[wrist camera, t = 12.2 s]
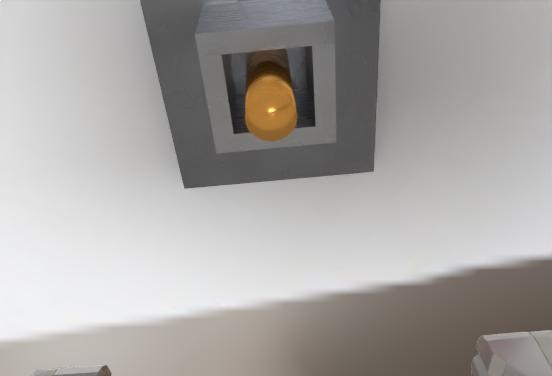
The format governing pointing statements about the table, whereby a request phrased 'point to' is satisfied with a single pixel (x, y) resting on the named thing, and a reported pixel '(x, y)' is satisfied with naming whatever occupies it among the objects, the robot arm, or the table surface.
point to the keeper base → (274, 160)
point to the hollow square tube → (258, 37)
